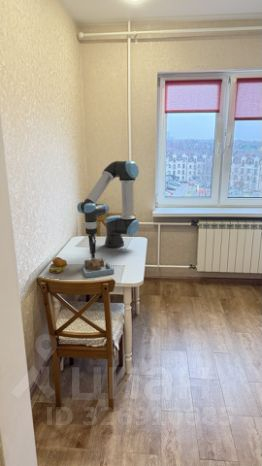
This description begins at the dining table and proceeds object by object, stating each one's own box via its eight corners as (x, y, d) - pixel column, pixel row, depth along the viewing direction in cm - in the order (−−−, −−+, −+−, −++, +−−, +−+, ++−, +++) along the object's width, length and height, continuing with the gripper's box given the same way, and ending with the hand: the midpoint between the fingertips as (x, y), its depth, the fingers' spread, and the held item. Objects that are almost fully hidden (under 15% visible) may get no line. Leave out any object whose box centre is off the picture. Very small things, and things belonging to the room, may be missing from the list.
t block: (102, 263, 216) (102, 258, 214) (106, 270, 205) (106, 264, 203) (84, 266, 212) (84, 260, 211) (88, 273, 201) (87, 267, 200)
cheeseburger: (49, 268, 210) (52, 254, 208) (66, 271, 212) (68, 257, 209) (47, 274, 200) (49, 259, 198) (64, 277, 202) (67, 262, 200)
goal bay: (108, 264, 213) (107, 260, 213) (114, 273, 200) (113, 268, 199) (81, 268, 208) (81, 264, 207) (86, 277, 194) (86, 273, 194)
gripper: (83, 225, 212) (85, 259, 219) (87, 230, 200) (89, 266, 207) (94, 224, 214) (96, 257, 221) (99, 229, 202) (101, 264, 209)
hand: (93, 261), depth 214 cm, fingers closed
